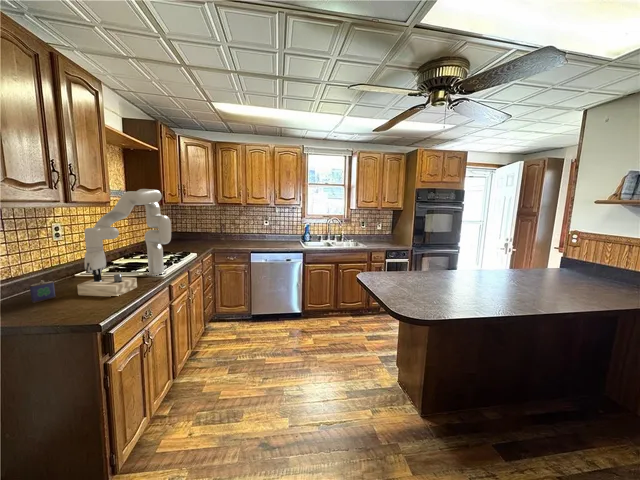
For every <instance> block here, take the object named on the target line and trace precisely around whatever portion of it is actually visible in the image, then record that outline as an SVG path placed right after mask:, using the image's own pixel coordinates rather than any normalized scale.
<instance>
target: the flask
mask: <svg viewBox="0 0 640 480" xmlns="http://www.w3.org/2000/svg"><path fill="white" fill-rule="evenodd" d="M29 291H30V299H31V303H38V302H42V301H47V300H52V299H55V298H56V290H55V283H54V281H53V280H52V281H45V280H44V279H41V280H40V282H36V283H32V284H31V285H29Z"/></svg>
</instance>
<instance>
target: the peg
mask: <svg viewBox="0 0 640 480" xmlns="http://www.w3.org/2000/svg"><path fill="white" fill-rule="evenodd" d="M113 277H114V283H120V282H122V277H123V275H122V274H121V273H116V274H114V275H113Z"/></svg>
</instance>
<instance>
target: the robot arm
mask: <svg viewBox="0 0 640 480" xmlns="http://www.w3.org/2000/svg"><path fill="white" fill-rule="evenodd" d="M162 197H163V195H162V193H161V191H160V190H158V189H153V188H152V189H149V188H140V189H138V190H136V191H135V190H134V191H126V192H124V193H123V194H122V195H121V197H120V198H119V199H118V201H117V202H116V204H115V205H114V207H113V208H112V209H111V210H110V211H108V212H106V213H105V214H104V215H102V216H101V217H100V218H99V219H98V220H97V221H96V223H95V224H94V226H93V227H86V228H84V239H85V240H84V241H85V250H86V251H85V253H84V270H86V271H87V273H89V274H90V273H91V274H92V275H93V279H94V281H100V280H102V279H101V277H102V273H103V270H104V269H106V266H107V258H106V254H105V251H104V241H103V240H115V239H116V238H118V237H119V235H120V231H119V229H118V228H116V227H114V226H112V225H113V224H115V223H117V222H118V221H121V220H124V219H126V218H128V217H129V216H130V213H132V210H133V209H134V207H135V206H144V207H145V213H146V214H145V215H146V225H147V227H149V228H150V230H147V231H146V232H145V234H144V241H145V244H146V249H147V250H146V251H147V254H146V255H147V264H148V271H149V273H147V272H145V274H147V275H146V276H149V277H150V276H151V277H154V276H156V275H157V276H160V275H159V274H163V273H165V274H167V273H166V272H167V270H166V271H165V272H164V270H165V269H166V268H167V267H168V266H167V265H164V248H163V245H168V244H169V243H170V242H171V240H172V222H171V219H170V217H169V216H167V215H165V214H164V215H163V214H162V213H161V206H160V204H159V202H160V201H161V200H162ZM151 228H152V229H151ZM162 272H163V273H162ZM163 275H164V274H163Z"/></svg>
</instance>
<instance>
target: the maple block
mask: <svg viewBox="0 0 640 480" xmlns="http://www.w3.org/2000/svg"><path fill="white" fill-rule="evenodd" d="M101 279H102V281H100V282H94V278H93V279H90V280H87V281H84V282H82V283H79V284H77V294H78V296H90V297H92V296H93V297H111V296H118V297H119V295H120V296H122V295H124V294H126V293H128V292H130V291H132V290H134V289H136V288H138V282H137V277H125V276H124V277H123V276H122V282H120V283H114V276H101Z"/></svg>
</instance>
